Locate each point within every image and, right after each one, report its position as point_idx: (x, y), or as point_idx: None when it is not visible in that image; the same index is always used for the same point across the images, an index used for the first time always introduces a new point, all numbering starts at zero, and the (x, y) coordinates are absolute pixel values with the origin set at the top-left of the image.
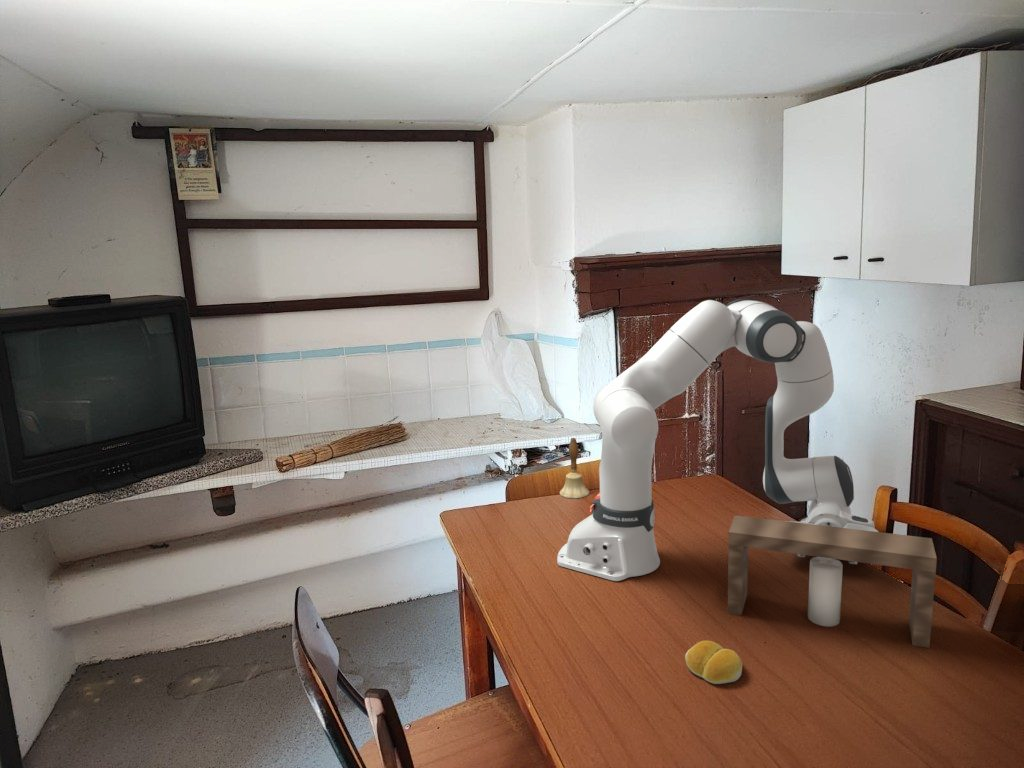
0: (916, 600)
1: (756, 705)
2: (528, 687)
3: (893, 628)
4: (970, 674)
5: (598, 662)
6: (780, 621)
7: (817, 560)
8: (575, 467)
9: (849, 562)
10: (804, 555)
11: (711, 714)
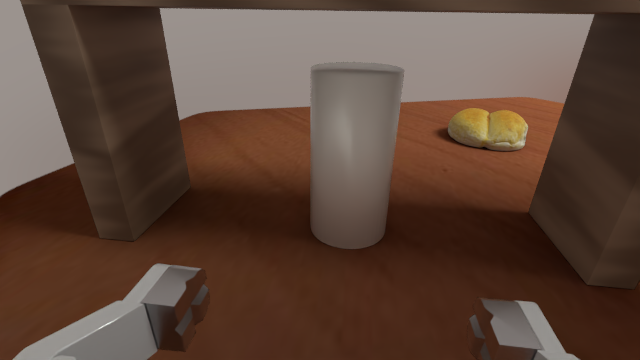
0: (172, 89)
1: (417, 120)
2: None
3: (195, 217)
4: None
5: None
6: (439, 208)
7: (382, 70)
8: None
9: (208, 295)
10: (472, 319)
11: (452, 114)
